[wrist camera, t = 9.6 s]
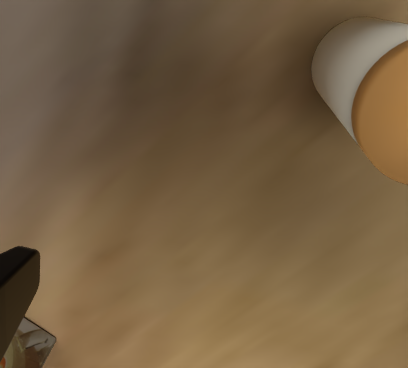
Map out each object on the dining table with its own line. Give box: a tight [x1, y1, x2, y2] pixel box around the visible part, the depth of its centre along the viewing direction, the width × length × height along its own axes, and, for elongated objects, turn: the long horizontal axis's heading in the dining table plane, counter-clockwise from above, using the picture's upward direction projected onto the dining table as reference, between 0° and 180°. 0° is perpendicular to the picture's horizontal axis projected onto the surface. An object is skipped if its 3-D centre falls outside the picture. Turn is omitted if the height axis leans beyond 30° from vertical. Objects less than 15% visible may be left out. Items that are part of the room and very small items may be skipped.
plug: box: [311, 17, 408, 185], centre depth 14 cm, size 4×4×8 cm
